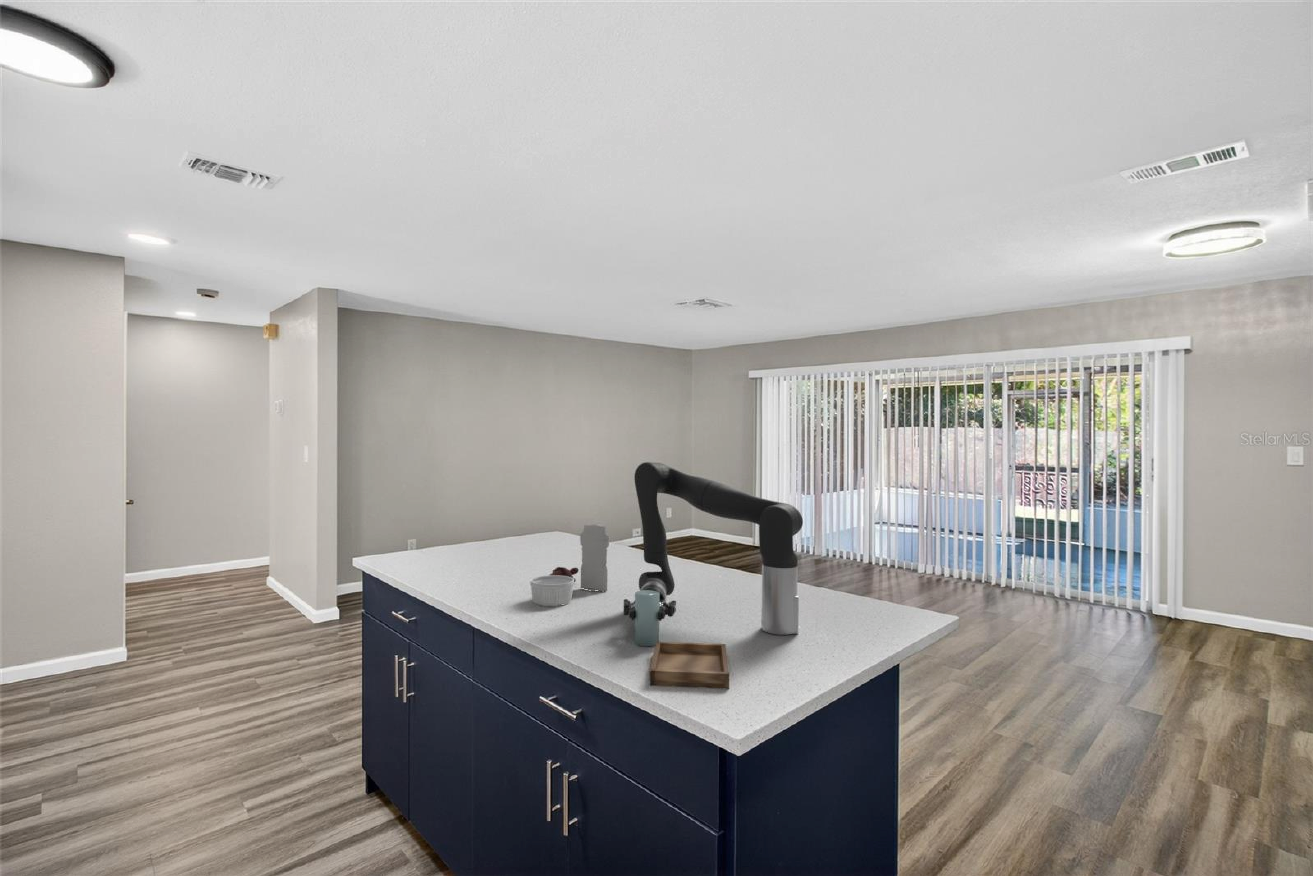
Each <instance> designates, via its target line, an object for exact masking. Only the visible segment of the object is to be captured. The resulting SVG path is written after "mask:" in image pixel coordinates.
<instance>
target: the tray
mask: <svg viewBox="0 0 1313 876" xmlns="http://www.w3.org/2000/svg"><path fill="white" fill-rule="evenodd" d="M728 660H729V659H728V654H727V646H726V643H706V642H705V643H704V642H703V643H702V642H701V643H700V642H683V641H682V642H677V641H659V642H656V645H654V651H653V656H652V660H651V664H650V669H649V686H651V687H652V686H653V685H654V687H655V686H656V687H673V686H674V687H677V688H697V687H706V688H705V689H720V688H721V689H723V688H726V689H725V690H729V689H730V670H729V663H728V662H729V661H728ZM723 690H724V689H723Z"/></svg>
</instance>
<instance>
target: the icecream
mask: <svg viewBox="0 0 1313 876" xmlns="http://www.w3.org/2000/svg"><path fill="white" fill-rule="evenodd" d="M579 571H580V570H579V568H578V567H572V568H571V569H568V568H566V567H562V566H557V567H556V568H555V569H553V570H552V573H550V574H549V575H561V576H568V577H572V578H573V579H574V582H577V581H576V578H574V575H577V574H578V573H579Z"/></svg>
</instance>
